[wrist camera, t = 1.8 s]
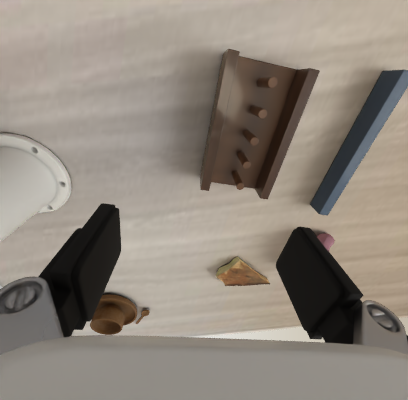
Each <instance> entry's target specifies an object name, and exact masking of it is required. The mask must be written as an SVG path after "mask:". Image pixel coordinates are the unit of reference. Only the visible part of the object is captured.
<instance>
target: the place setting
mask: <svg viewBox="0 0 408 400" xmlns="http://www.w3.org/2000/svg"><path fill="white" fill-rule="evenodd" d="M148 314H149V310H144V311H142V313H141V315H142V316H141V318H140V319H139V320H138V321H137V322H136V324H138V323H139V322H140V320H141V319H142V318H143V317H144V316H146V315H148ZM136 316H137V309H136V306H135V305H134V304H133V303H132V302H131V301H130V300H128V299H127V298H124V297H122V296H118V295H109V294H108V295H102V297H101V299H100V301H99V304H98V306H97V308H96V311H95V313H94V315H93V318H92V321H91V323H90V327H91V328H92V330H94V331H95V332H97V333H100V334H106V335H112V334H116V333H119V332H120V331H121V330H122V327H123V325H127V324H130V323H131V322H133V321H134V320H135V319H136Z"/></svg>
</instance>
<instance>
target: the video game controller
mask: <svg viewBox="0 0 408 400" xmlns="http://www.w3.org/2000/svg"><path fill="white" fill-rule="evenodd" d="M317 238H318V239H319V240H320V241H321V243H322V244H323V245H324V246H325V248H326V249H327V250H328V251H329V249H330V247H331V245H332V244H333V243H334V238H333V237H332V236H331V235H329V234H326V233H322V234H319V235H318V236H317Z"/></svg>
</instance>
